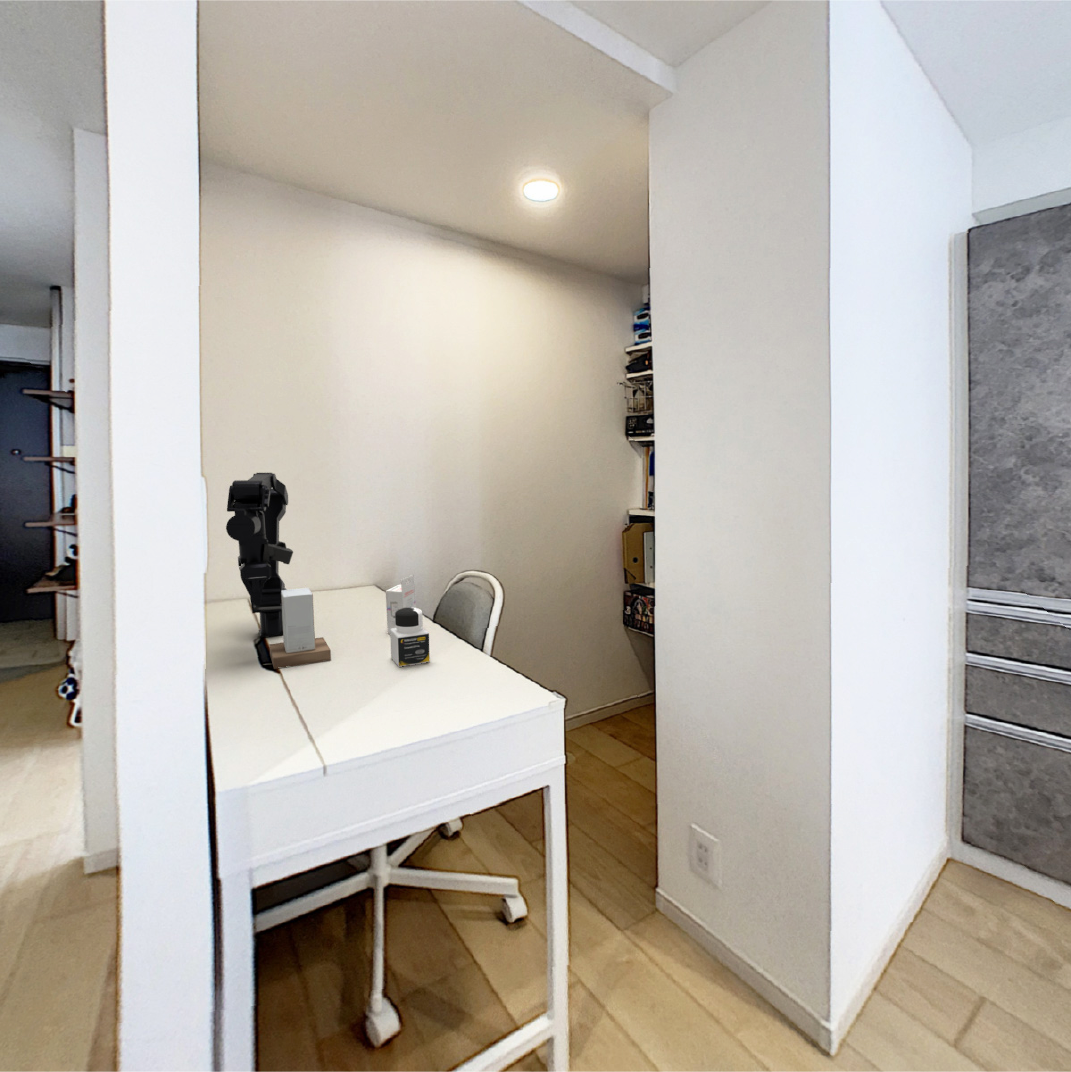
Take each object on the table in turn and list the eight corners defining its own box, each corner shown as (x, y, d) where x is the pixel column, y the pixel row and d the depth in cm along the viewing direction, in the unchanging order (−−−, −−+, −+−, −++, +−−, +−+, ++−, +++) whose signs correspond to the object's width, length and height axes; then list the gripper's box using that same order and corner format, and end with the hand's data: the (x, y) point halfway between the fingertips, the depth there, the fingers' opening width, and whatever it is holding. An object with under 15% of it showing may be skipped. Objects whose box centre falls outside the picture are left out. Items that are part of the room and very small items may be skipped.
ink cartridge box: (400, 625, 165) (398, 573, 163) (416, 626, 164) (415, 573, 162) (386, 634, 157) (384, 579, 155) (404, 635, 156) (402, 580, 154)
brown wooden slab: (270, 654, 140) (269, 644, 140) (323, 647, 146) (323, 637, 146) (274, 669, 131) (273, 658, 130) (331, 660, 136) (330, 649, 136)
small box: (315, 649, 136) (313, 594, 134) (285, 653, 133) (282, 596, 131) (311, 640, 143) (309, 587, 141) (283, 643, 140) (280, 589, 139)
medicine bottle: (398, 667, 132) (397, 614, 130) (390, 658, 138) (389, 607, 136) (430, 662, 135) (428, 611, 133) (420, 653, 141) (419, 604, 140)
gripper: (293, 537, 133) (297, 605, 135) (285, 528, 149) (289, 588, 152) (238, 541, 128) (243, 611, 130) (235, 530, 144) (240, 593, 146)
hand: (256, 600), depth 140 cm, fingers open, 9 cm apart
